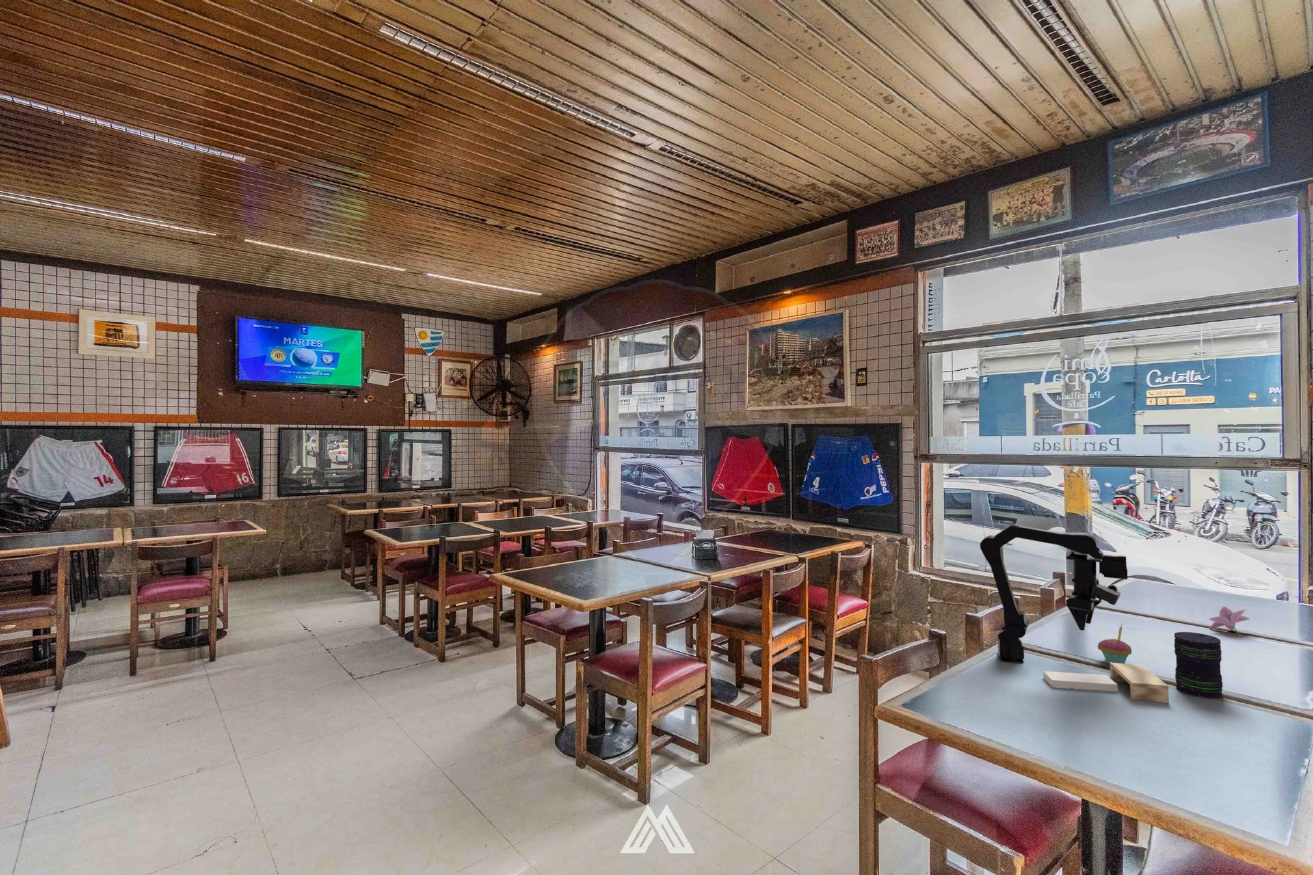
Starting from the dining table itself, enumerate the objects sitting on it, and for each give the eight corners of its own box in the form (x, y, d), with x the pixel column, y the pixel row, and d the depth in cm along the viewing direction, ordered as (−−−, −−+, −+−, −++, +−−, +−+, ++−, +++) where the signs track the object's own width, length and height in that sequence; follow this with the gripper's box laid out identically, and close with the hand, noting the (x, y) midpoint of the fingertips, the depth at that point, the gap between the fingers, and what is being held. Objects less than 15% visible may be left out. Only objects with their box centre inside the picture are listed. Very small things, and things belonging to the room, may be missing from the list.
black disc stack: (1212, 701, 163) (1210, 645, 163) (1168, 689, 171) (1166, 635, 172) (1230, 694, 167) (1228, 638, 167) (1185, 682, 176) (1184, 629, 176)
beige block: (1132, 699, 165) (1132, 682, 165) (1110, 677, 180) (1109, 662, 180) (1168, 702, 162) (1168, 685, 163) (1143, 680, 178) (1142, 665, 178)
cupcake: (1126, 659, 195) (1124, 621, 195) (1137, 668, 187) (1135, 629, 187) (1094, 656, 198) (1093, 619, 198) (1103, 665, 190) (1102, 626, 190)
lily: (1258, 637, 217) (1244, 609, 222) (1259, 631, 209) (1245, 603, 214) (1215, 642, 223) (1202, 615, 228) (1215, 637, 215) (1202, 609, 220)
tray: (1052, 688, 174) (1052, 680, 174) (1043, 679, 181) (1043, 671, 181) (1117, 693, 170) (1117, 684, 170) (1105, 683, 177) (1105, 675, 177)
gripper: (1112, 584, 174) (1112, 640, 174) (1123, 574, 187) (1123, 625, 187) (1065, 578, 182) (1066, 631, 182) (1079, 569, 195) (1079, 618, 195)
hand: (1085, 626), depth 186 cm, fingers open, 9 cm apart
